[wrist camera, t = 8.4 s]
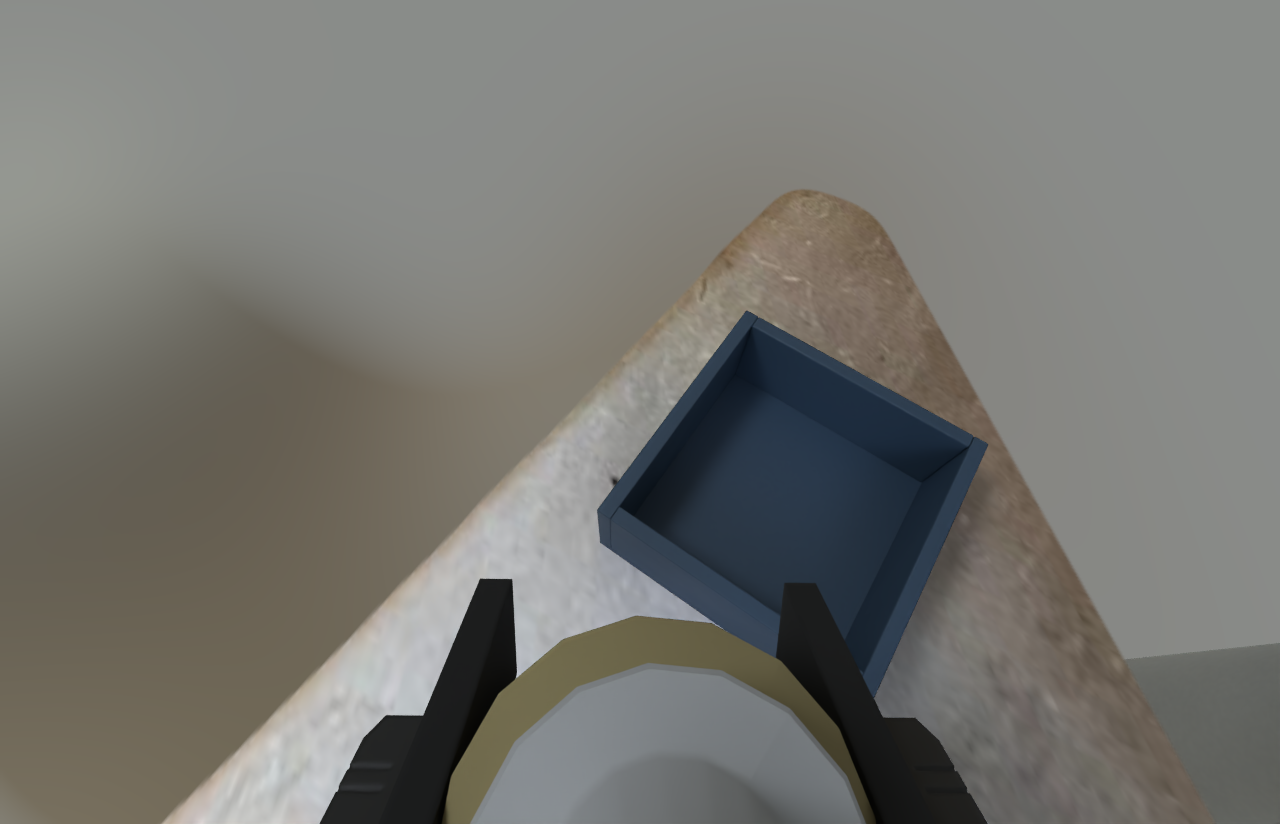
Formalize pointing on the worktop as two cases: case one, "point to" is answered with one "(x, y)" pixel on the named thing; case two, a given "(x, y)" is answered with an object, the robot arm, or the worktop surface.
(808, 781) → the squeeze bottle
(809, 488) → the bin
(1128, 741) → the worktop surface
